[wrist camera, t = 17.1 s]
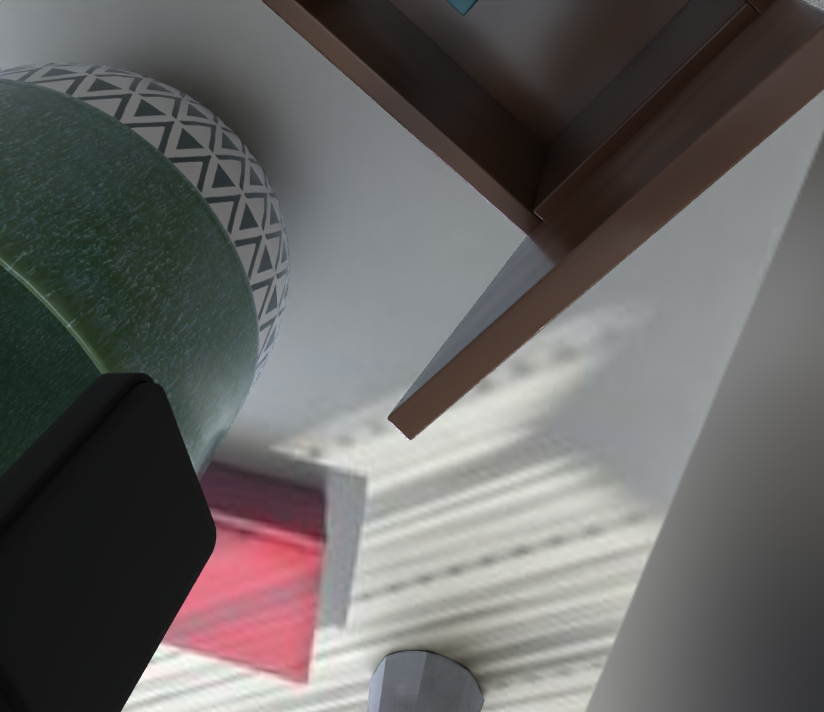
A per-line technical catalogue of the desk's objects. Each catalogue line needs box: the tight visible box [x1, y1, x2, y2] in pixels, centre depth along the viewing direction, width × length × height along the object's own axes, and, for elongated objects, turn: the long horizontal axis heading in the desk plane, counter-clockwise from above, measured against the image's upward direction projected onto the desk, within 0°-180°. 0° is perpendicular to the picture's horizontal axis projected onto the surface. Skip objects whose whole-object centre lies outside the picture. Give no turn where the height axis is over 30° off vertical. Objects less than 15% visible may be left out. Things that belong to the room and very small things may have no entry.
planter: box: [0, 63, 289, 481], centre depth 35 cm, size 20×20×21 cm
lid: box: [388, 0, 824, 440], centre depth 22 cm, size 15×12×1 cm
